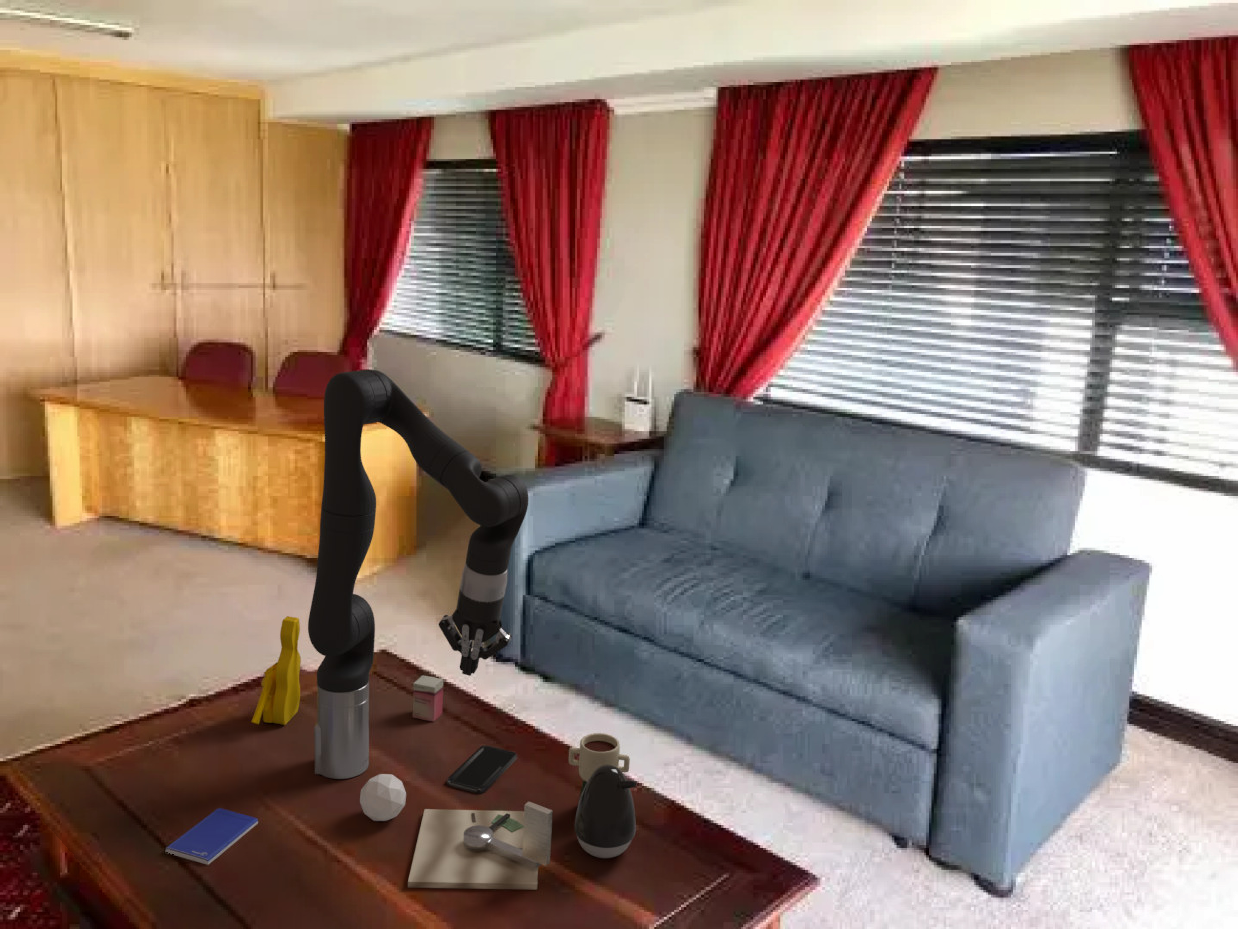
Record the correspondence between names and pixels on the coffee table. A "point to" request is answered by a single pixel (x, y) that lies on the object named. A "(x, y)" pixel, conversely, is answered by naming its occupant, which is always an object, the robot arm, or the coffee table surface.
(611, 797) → the pump dispenser
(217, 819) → the hard drive
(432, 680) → the small box
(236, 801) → the coffee table surface
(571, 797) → the coffee table surface
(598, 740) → the character mug
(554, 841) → the coffee table surface
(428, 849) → the dial board
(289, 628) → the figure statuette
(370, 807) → the geometric ball
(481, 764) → the phone
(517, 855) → the key
